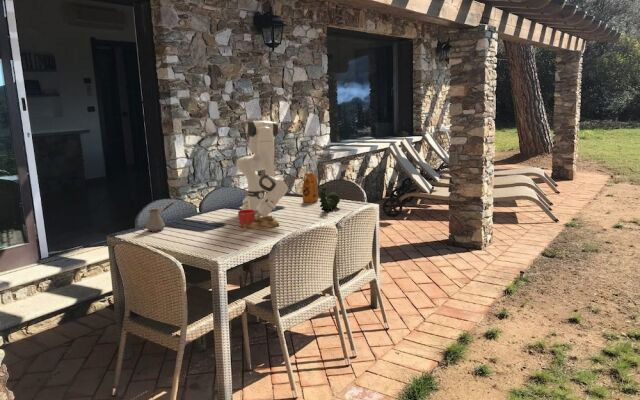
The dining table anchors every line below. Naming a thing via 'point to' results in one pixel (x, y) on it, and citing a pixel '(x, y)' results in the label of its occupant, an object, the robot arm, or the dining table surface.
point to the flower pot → (246, 217)
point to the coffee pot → (155, 220)
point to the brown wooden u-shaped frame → (262, 223)
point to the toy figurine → (328, 200)
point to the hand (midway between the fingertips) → (255, 218)
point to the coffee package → (310, 188)
